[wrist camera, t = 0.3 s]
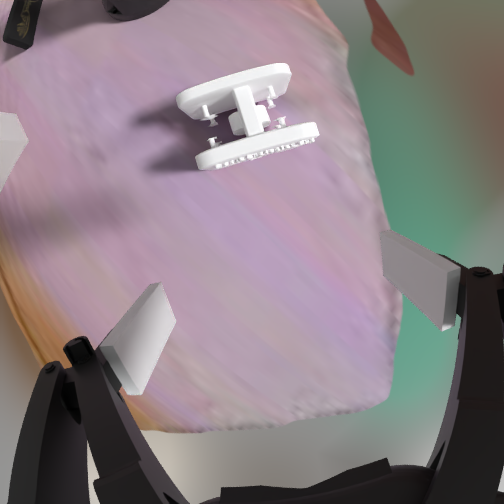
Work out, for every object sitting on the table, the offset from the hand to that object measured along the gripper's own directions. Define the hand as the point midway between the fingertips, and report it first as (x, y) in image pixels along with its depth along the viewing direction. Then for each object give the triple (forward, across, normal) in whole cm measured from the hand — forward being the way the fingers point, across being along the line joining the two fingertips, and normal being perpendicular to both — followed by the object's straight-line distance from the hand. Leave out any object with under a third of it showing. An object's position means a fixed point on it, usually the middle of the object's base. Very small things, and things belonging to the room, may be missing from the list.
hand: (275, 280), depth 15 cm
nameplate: (+29, -41, +64) cm, 82 cm away
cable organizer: (+28, +1, +13) cm, 31 cm away
